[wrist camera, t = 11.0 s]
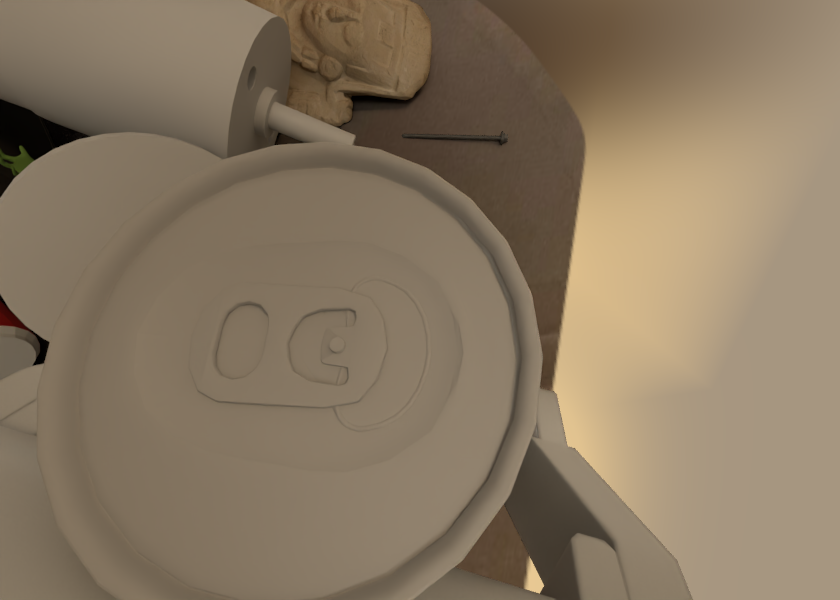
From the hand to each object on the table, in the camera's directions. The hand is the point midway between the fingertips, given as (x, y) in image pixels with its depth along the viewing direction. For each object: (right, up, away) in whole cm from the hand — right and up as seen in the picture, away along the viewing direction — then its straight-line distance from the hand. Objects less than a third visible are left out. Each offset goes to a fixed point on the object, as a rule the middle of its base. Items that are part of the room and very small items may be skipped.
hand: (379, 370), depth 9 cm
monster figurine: (-12, +4, +11) cm, 16 cm away
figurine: (-18, +23, +19) cm, 35 cm away
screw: (+3, +13, +20) cm, 24 cm away
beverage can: (0, -3, +6) cm, 7 cm away
